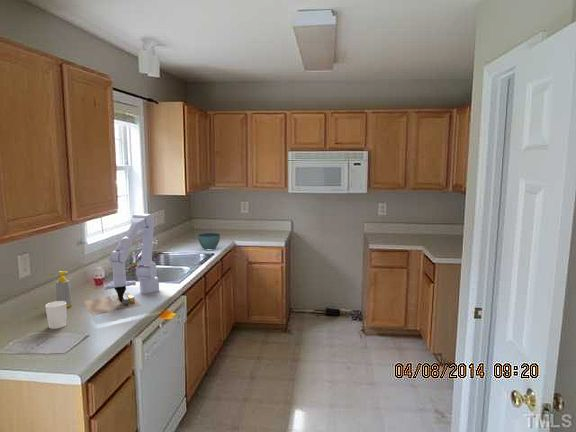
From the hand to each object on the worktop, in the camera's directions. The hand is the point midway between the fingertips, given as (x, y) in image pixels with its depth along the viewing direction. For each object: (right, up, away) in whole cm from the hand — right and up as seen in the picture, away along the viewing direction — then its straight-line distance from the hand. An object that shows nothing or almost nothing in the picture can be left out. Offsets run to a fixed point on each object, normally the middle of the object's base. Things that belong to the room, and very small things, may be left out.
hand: (121, 301), depth 198 cm
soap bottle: (-29, -3, +1) cm, 29 cm away
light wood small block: (+4, -1, +3) cm, 5 cm away
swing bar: (0, 0, +4) cm, 4 cm away
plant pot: (+17, +14, +134) cm, 136 cm away
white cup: (-18, -6, -23) cm, 30 cm away
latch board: (-5, -3, +1) cm, 6 cm away
